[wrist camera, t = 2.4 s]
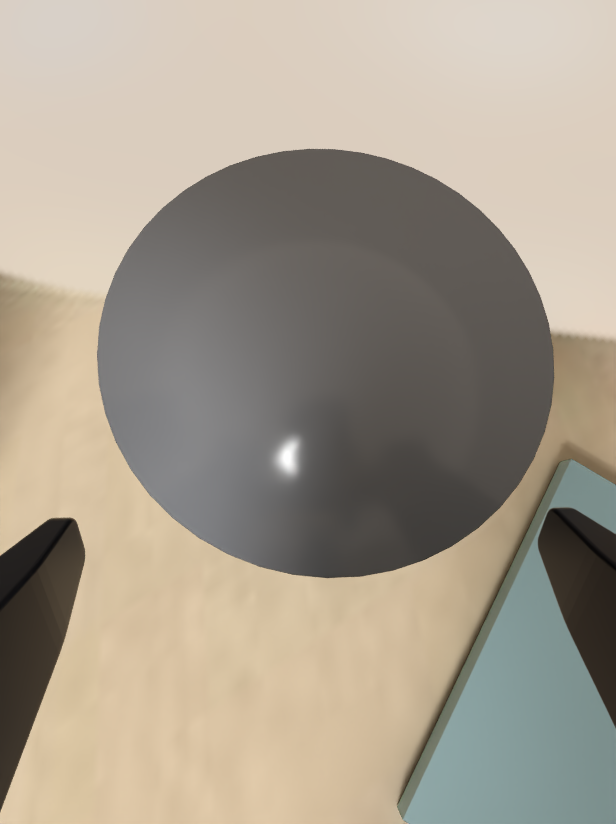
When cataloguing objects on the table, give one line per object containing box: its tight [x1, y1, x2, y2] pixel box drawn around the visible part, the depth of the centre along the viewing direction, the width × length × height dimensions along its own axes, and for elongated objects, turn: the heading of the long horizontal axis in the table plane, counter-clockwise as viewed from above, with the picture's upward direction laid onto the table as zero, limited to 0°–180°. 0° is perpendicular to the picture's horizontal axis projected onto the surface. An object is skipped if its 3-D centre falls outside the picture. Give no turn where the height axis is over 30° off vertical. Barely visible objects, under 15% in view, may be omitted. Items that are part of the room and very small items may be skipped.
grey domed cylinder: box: [97, 149, 554, 578], centre depth 13 cm, size 6×6×13 cm
